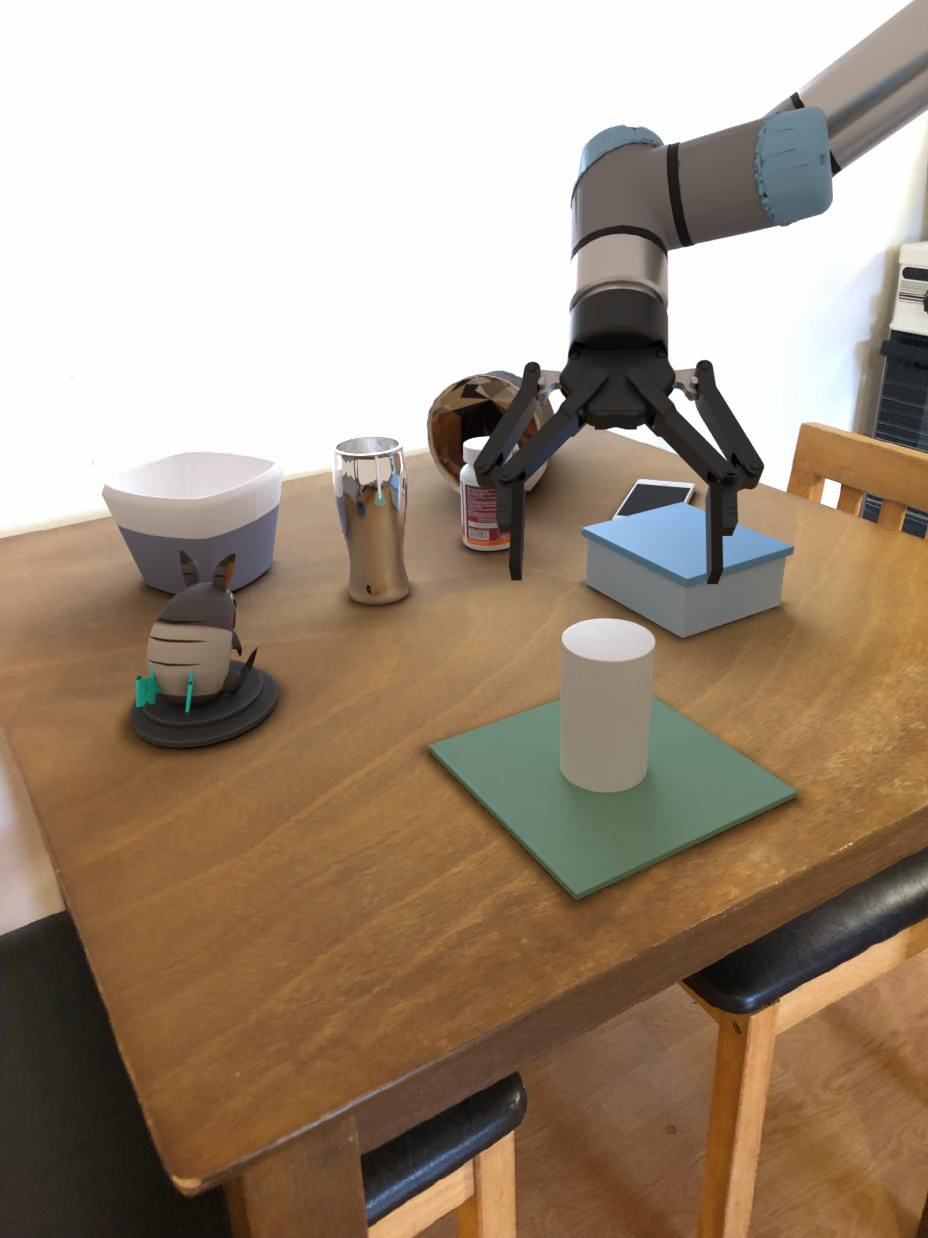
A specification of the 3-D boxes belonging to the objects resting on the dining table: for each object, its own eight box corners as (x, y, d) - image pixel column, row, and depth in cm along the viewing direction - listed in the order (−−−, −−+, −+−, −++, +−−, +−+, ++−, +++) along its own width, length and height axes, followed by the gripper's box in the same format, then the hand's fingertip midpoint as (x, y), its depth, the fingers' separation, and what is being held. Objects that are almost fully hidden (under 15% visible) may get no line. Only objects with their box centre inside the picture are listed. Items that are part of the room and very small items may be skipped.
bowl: (201, 539, 107) (185, 445, 102) (312, 559, 101) (301, 459, 96) (101, 591, 95) (77, 487, 90) (220, 617, 89) (202, 506, 84)
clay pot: (573, 363, 131) (538, 364, 108) (581, 472, 135) (550, 496, 112) (472, 375, 136) (418, 378, 112) (482, 480, 139) (432, 505, 116)
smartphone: (695, 489, 117) (695, 482, 117) (673, 532, 104) (674, 524, 104) (638, 485, 119) (638, 477, 119) (610, 526, 107) (611, 518, 106)
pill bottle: (527, 546, 102) (527, 445, 97) (476, 556, 100) (474, 454, 95) (502, 528, 107) (500, 431, 102) (453, 538, 105) (449, 440, 100)
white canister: (665, 774, 64) (675, 644, 59) (594, 804, 61) (599, 670, 56) (610, 733, 68) (615, 610, 64) (542, 759, 66) (543, 632, 61)
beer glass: (360, 575, 97) (347, 432, 90) (423, 581, 95) (415, 436, 88) (333, 603, 91) (317, 453, 84) (400, 610, 89) (389, 457, 82)
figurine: (100, 741, 70) (66, 601, 65) (179, 665, 81) (154, 538, 75) (239, 757, 68) (214, 612, 63) (301, 676, 78) (285, 546, 73)
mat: (796, 797, 62) (797, 791, 61) (576, 901, 54) (576, 894, 54) (623, 681, 76) (623, 676, 75) (428, 751, 68) (428, 745, 68)
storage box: (786, 606, 87) (794, 546, 84) (682, 641, 81) (687, 578, 79) (678, 555, 99) (682, 501, 96) (580, 583, 93) (581, 527, 90)
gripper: (777, 342, 73) (789, 597, 66) (461, 346, 76) (442, 590, 69) (798, 278, 66) (814, 557, 59) (449, 286, 69) (427, 551, 62)
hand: (613, 576), depth 64 cm, fingers open, 13 cm apart
